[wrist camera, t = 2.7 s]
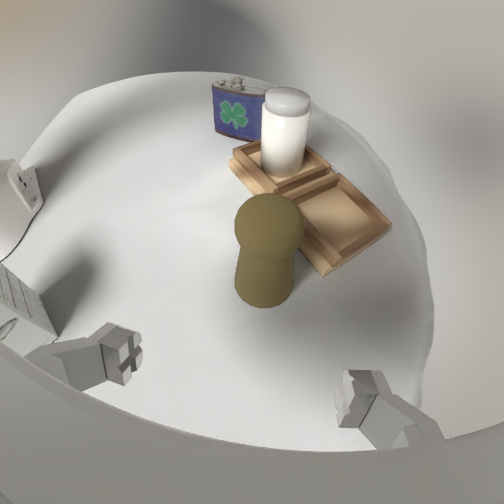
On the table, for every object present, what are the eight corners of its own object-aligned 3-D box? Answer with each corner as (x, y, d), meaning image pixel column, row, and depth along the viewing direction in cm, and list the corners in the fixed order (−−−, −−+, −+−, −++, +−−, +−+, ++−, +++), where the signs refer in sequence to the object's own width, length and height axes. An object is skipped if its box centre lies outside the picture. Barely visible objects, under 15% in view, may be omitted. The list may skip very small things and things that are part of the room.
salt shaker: (252, 159, 36) (253, 91, 27) (284, 148, 37) (291, 83, 28) (276, 183, 33) (283, 110, 24) (309, 169, 35) (323, 101, 26)
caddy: (228, 167, 37) (227, 150, 35) (290, 144, 40) (292, 129, 38) (323, 278, 28) (330, 264, 26) (386, 235, 31) (395, 220, 29)
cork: (250, 247, 30) (250, 171, 21) (301, 268, 29) (324, 197, 19) (223, 293, 27) (210, 226, 18) (279, 318, 26) (296, 262, 17)
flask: (267, 138, 41) (270, 79, 32) (258, 146, 40) (260, 85, 31) (220, 124, 44) (216, 70, 35) (210, 132, 42) (204, 75, 33)
